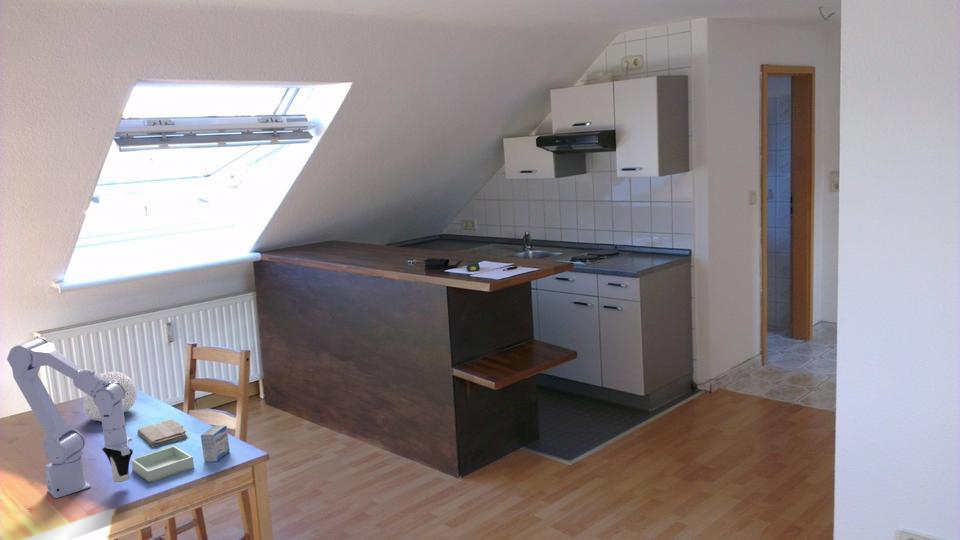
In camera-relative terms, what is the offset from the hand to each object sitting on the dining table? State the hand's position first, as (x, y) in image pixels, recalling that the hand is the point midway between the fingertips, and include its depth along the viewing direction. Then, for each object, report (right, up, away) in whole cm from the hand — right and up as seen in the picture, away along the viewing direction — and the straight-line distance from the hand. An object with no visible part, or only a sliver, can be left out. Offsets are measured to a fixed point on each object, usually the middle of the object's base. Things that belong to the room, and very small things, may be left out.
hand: (120, 472), depth 224 cm
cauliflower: (-30, +4, +62) cm, 69 cm away
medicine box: (+21, 0, +20) cm, 29 cm away
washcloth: (-4, +1, +40) cm, 40 cm away
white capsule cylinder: (0, -2, 0) cm, 2 cm away
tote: (+7, -2, +12) cm, 14 cm away
